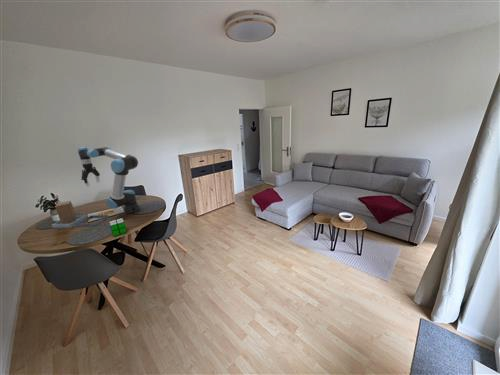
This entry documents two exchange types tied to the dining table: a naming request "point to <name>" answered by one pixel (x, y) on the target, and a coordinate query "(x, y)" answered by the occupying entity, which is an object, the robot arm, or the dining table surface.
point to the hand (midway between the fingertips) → (93, 184)
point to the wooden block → (66, 212)
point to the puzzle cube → (118, 227)
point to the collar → (92, 223)
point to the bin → (60, 225)
